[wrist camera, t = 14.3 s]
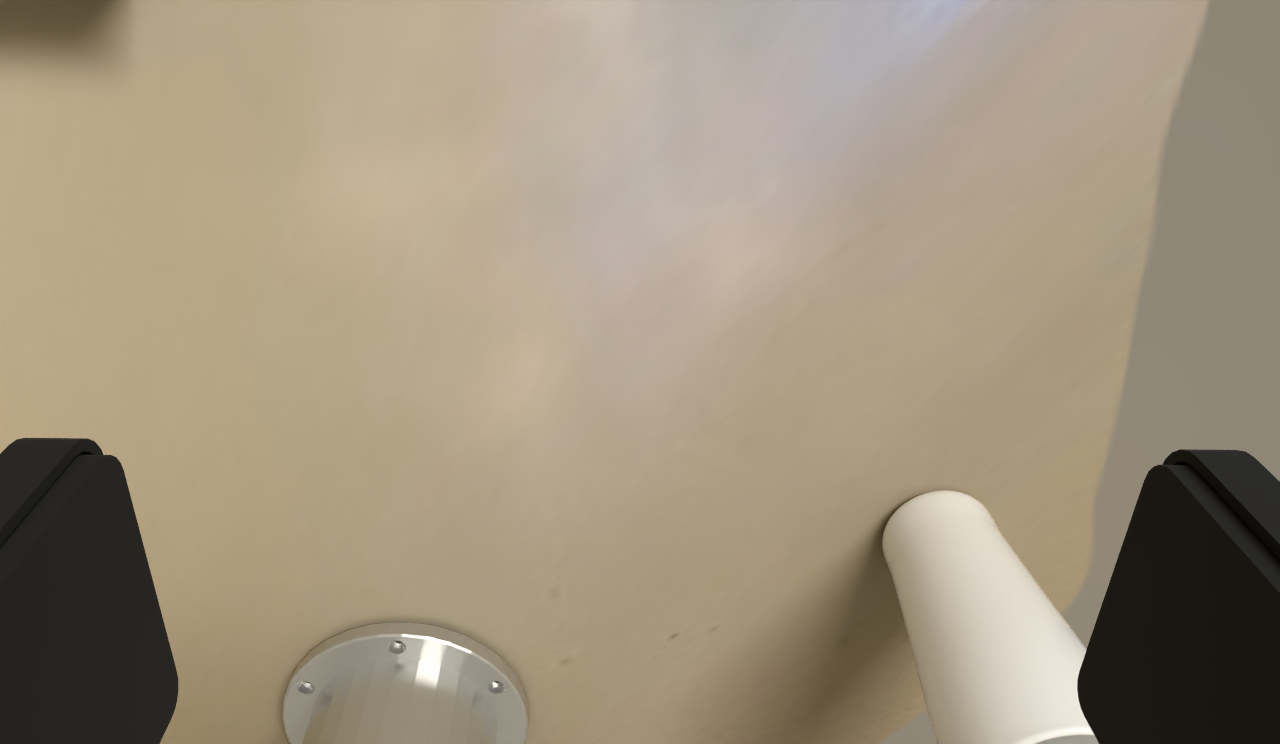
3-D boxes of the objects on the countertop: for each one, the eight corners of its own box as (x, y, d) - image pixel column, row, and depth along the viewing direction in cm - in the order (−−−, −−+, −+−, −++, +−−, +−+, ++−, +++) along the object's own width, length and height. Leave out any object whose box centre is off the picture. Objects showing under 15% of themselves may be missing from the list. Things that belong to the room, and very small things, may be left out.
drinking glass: (867, 477, 46) (973, 736, 33) (1011, 466, 46) (1176, 721, 33) (861, 588, 49) (955, 864, 36) (996, 578, 49) (1140, 851, 36)
